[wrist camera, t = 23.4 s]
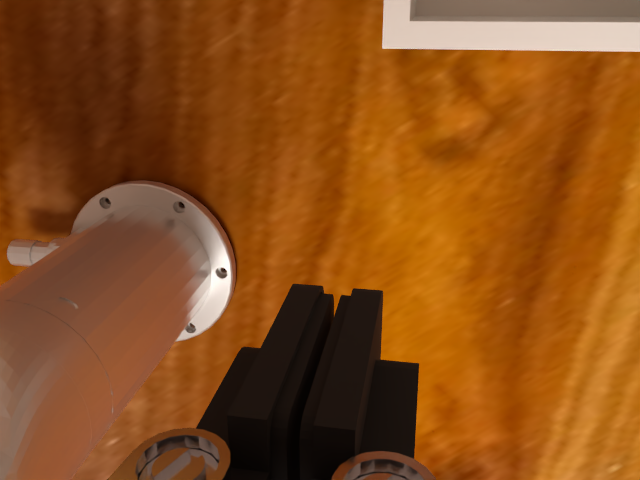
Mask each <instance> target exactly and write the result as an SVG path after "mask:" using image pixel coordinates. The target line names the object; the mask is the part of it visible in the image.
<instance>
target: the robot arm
mask: <svg viewBox="0 0 640 480" xmlns="http://www.w3.org/2000/svg"><path fill="white" fill-rule="evenodd" d="M109 200H110V201H109ZM181 202H182V203H183V204H184V206H183V205H182V204H181ZM7 256H8V260H9V262H10V264H12V265H15V266H27V267H28V268H27V269H25V270H24V271H22V272H21V273H19V274H18V275H16V276H15V277H13V278H12V279H10V280H9V281H7V282H6V283H4V284H3V285H1V286H0V480H71V479H72V477H73V476H74V474H75V473H76V472H77V470H78V469H79V467H80V466H81V465H82V463H83V462H84V461H85V459H86V458H87V457H88V455H89V454H90V453H91V451H92V450H93V449H94V447H95V446H96V445H97V443H98V442H99V441H100V440H101V438H102V437H103V436H104V435H105V433H106V432H107V431H108V429H109V428H110V427H111V425H112V424H113V423H114V421H115V420H116V419H117V417H118V416H119V415H120V413H121V412H122V411H123V410H124V408H125V407H126V406H127V404H128V403H129V402H130V400H131V399H132V398H133V396H134V395H135V394H136V392H137V391H138V390H139V388H140V387H141V386H142V384H143V383H144V382H145V381H146V379H147V378H148V377H149V375H150V374H151V373H152V371H153V370H154V369H155V367H156V366H157V365H158V363H159V362H160V361H161V359H162V358H163V357H164V356H165V354H166V353H167V352H168V350H169V349H170V348H171V346H172V345H173V344H174V342H176V341H182V340H187V339H190V338H192V337H195V336H197V335H200V334H201V333H203V332H204V331H206V330H207V329H209V328H210V327H211V326H212V325H213V324H214V323H215V322H216V321H217V320H218V319H219V318H220V317H221V315H222V314H223V312H224V311H225V309H226V308H227V306H228V304H229V302H230V300H231V297H232V295H233V292H234V287H235V282H236V263H235V258H234V254H233V249H232V247H231V244H230V242H229V239H228V237H227V234H226V233H225V231H224V230H223V228H222V227H221V225H220V223H219V222H218V220H217V219H216V218H215V217H214V216H213V215H212V214H211V212H210V211H209V210H208V209H207V208H206V207H205V206H204V205H202V204H201V203H200V202H199V201H197V200H196V199H195V198H194V197H192V196H191V195H189V194H187V193H185V192H183V191H181V190H180V189H178V188H175V187H172V186H169V185H166V184H164V183H160V182H153V181H146V180H140V181H127V182H124V183H120V184H116V185H113V186H112V187H110V188H108V189H106V190H104V191H102V192H100V193H99V194H97V195H96V196H94V197H93V198H91V199H90V200H89V201H88V202H87V203H86V205H85V206H84V207H83V208H82V209H81V210H80V212H79V214H78V216H77V217H76V219H75V221H74V224H73V227H72V231H71V234H70V235H69V236H68V237H66V238H55V239H53V240H52V241H51V242H42V241H38V240H24V239H15V240H13V241H11V243H10V245H9V246H8V251H7ZM223 268H225V269H226V270H227V271H226V270H224V269H223ZM382 307H383V291H380V290H367V289H354V288H353V290H352V294H351V296H346V295H341V297H340V300H339V303H338V306H337V310H336V313H335V316H334V297H333V294H324V290H323V286H315V285H302V284H293V285H292V287H291V289H290V291H289V293H288V295H287V297H286V299H285V301H284V303H283V305H282V307H281V309H280V311H279V313H278V315H277V317H276V319H275V321H274V323H273V325H272V326H271V328H270V330H269V332H268V334H267V336H266V338H265V340H264V342H263V344H262V346H261V348H252V347H243V348H241V350H240V351H239V352H238V354H237V356H236V358H235V359H234V361H233V363H232V365H231V367H230V368H229V370H228V372H227V374H226V376H225V377H224V379H223V381H222V383H221V385H220V386H219V388H218V390H217V392H216V393H215V395H214V397H213V399H212V401H211V402H210V404H209V406H208V408H207V410H206V411H205V413H204V415H203V417H202V419H201V420H200V422H199V424H198V426H197V427H196V429H195V428H182V429H173V430H170V431H166V432H163V433H159V434H157V435H155V436H153V437H151V438H149V439H148V440H146V441H144V442H143V443H142V444H140V445H139V446H138V447H137V448H136V449H135V450H133V451H132V453H131V454H130V455H129V456H128V457H127V458H126V459H125V460H124V461H123V463H122V464H121V465H120V466H119V467H118V468H117V469H116V470H115V471H114V473H113V474H112V475H111V476H110V477H109V478H108V479H107V480H436V478H435V477H434V476H433V474H432V473H431V472H430V471H429V470H428V469H427V468H426V467H425V466H424V465H422V464H421V463H419V462H418V461H416V460H414V449H415V430H416V411H417V392H418V373H419V363H408V362H398V361H387V360H380V357H381V332H382Z"/></svg>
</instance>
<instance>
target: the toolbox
mask: <svg viewBox="0 0 640 480" xmlns="http://www.w3.org/2000/svg"><path fill="white" fill-rule="evenodd" d="M382 49H465V50H549V51H633V52H640V0H384V12H383V42H382Z"/></svg>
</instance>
